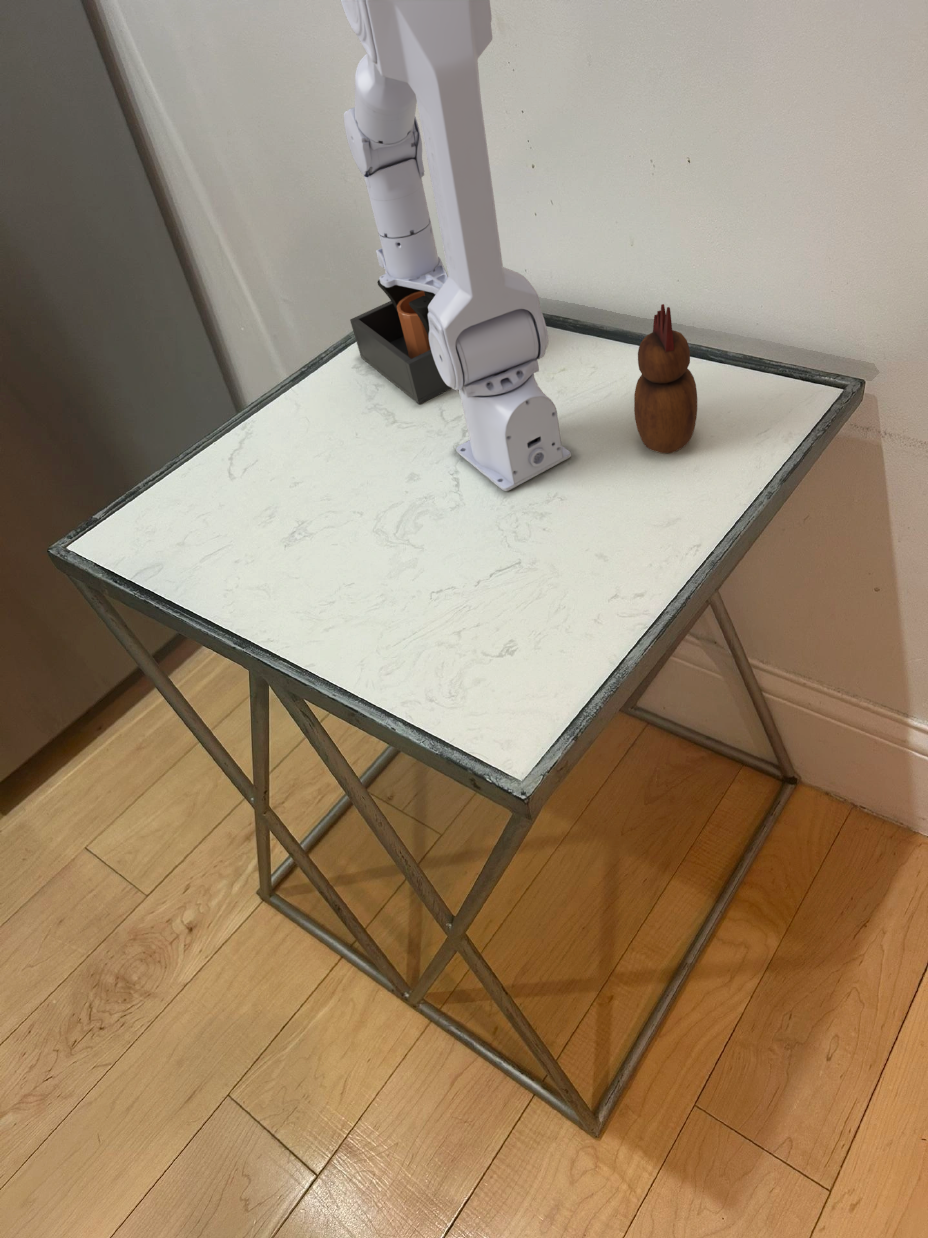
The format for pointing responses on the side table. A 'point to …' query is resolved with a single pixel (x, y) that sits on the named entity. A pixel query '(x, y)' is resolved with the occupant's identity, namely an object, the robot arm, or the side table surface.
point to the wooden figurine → (665, 388)
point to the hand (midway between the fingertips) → (430, 341)
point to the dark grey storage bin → (396, 354)
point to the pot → (413, 326)
